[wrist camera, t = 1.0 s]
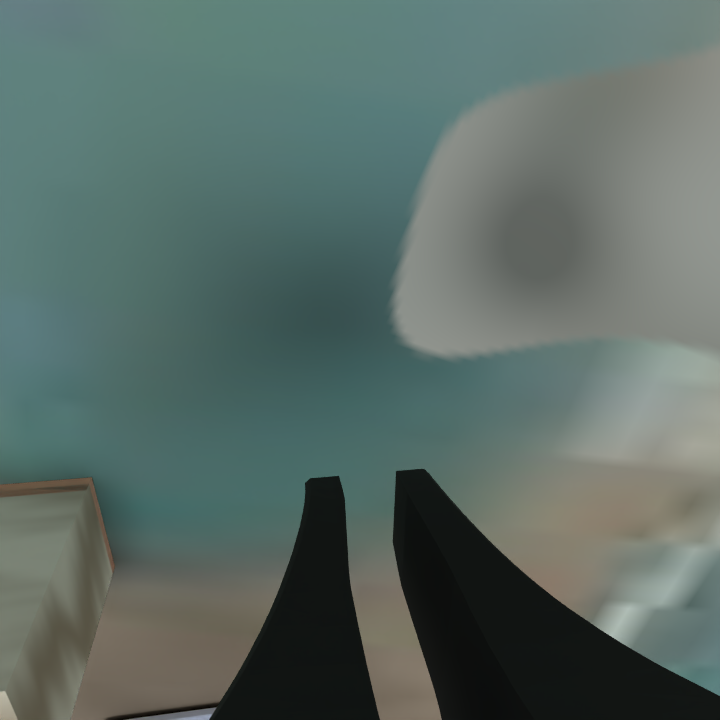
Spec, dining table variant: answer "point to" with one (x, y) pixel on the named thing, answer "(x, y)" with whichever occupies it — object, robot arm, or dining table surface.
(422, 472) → the robot arm
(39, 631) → the block
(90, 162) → the dining table surface
